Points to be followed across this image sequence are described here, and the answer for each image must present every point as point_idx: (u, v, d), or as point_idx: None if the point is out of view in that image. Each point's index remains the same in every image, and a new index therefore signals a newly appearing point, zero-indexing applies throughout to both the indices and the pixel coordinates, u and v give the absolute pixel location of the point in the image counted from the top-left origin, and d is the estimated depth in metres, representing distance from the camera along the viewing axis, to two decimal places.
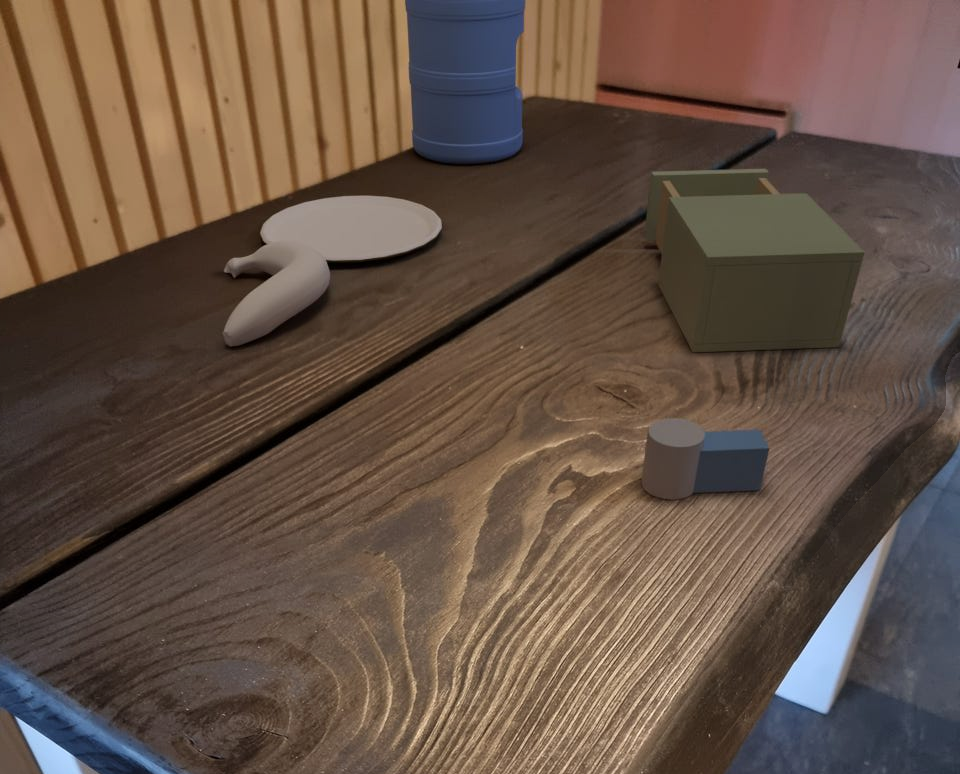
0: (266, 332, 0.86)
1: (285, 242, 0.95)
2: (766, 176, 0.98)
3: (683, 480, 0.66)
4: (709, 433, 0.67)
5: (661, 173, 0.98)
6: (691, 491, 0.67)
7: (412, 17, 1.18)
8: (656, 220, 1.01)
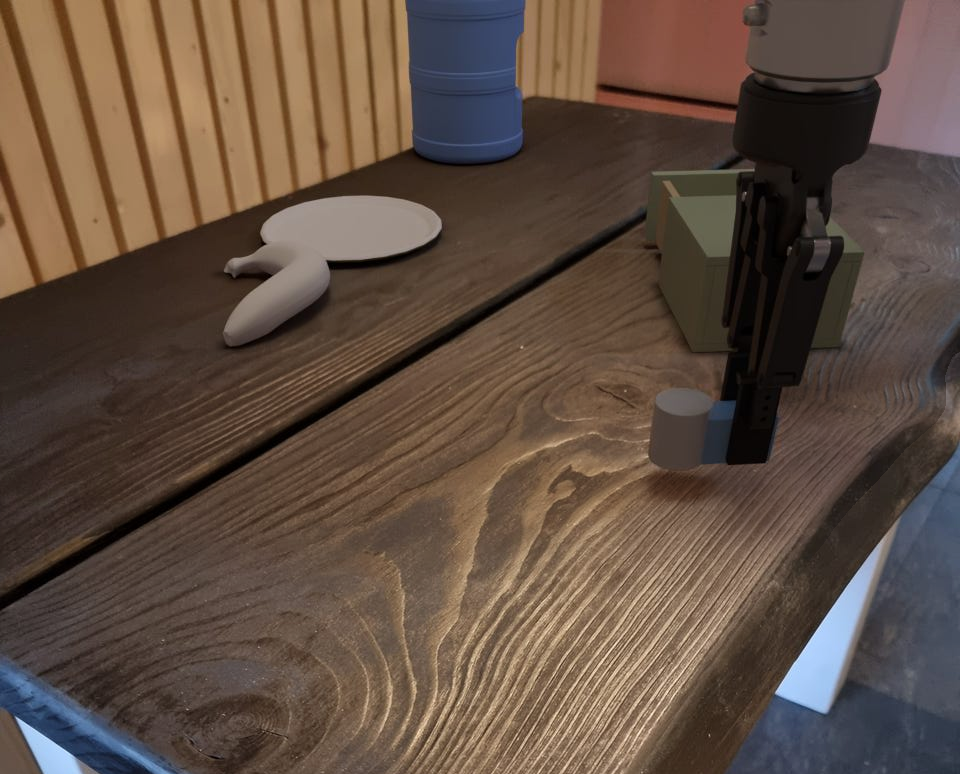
0: (266, 332, 0.86)
1: (285, 242, 0.95)
2: None
3: (691, 451, 0.64)
4: (717, 403, 0.65)
5: (661, 173, 0.98)
6: (699, 462, 0.65)
7: (412, 17, 1.18)
8: (656, 220, 1.01)
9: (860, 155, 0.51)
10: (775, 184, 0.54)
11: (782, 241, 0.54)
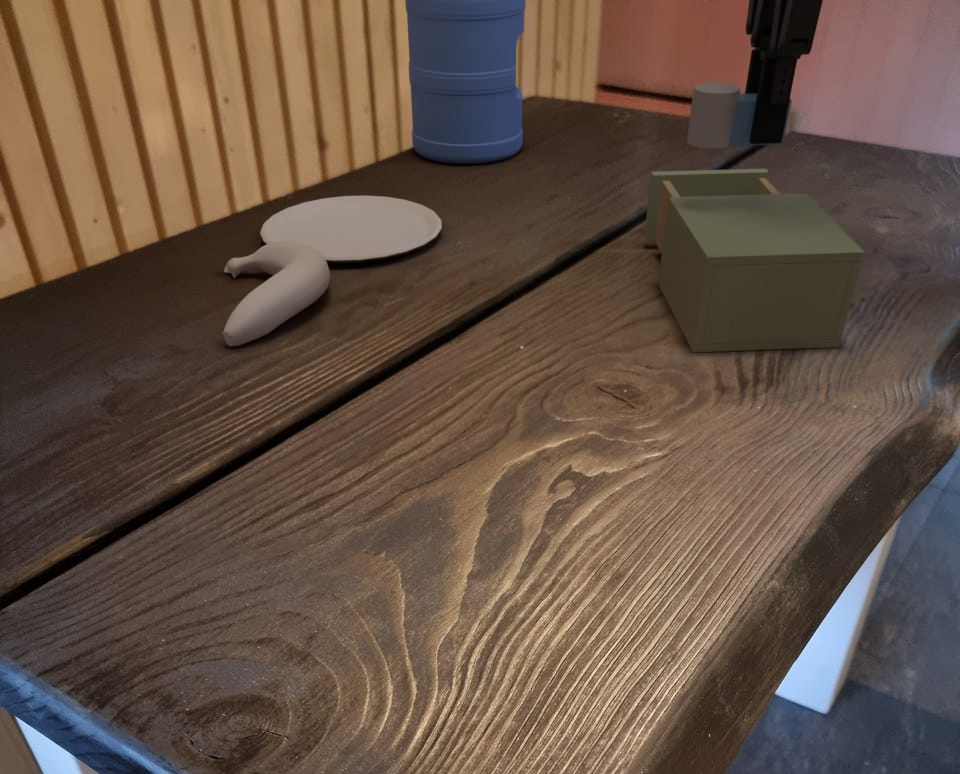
0: (266, 332, 0.86)
1: (285, 242, 0.95)
2: (766, 176, 0.98)
3: (722, 129, 0.81)
4: (742, 94, 0.82)
5: (661, 173, 0.98)
6: (728, 142, 0.83)
7: (412, 17, 1.18)
8: (656, 220, 1.01)
9: None
10: None
11: None
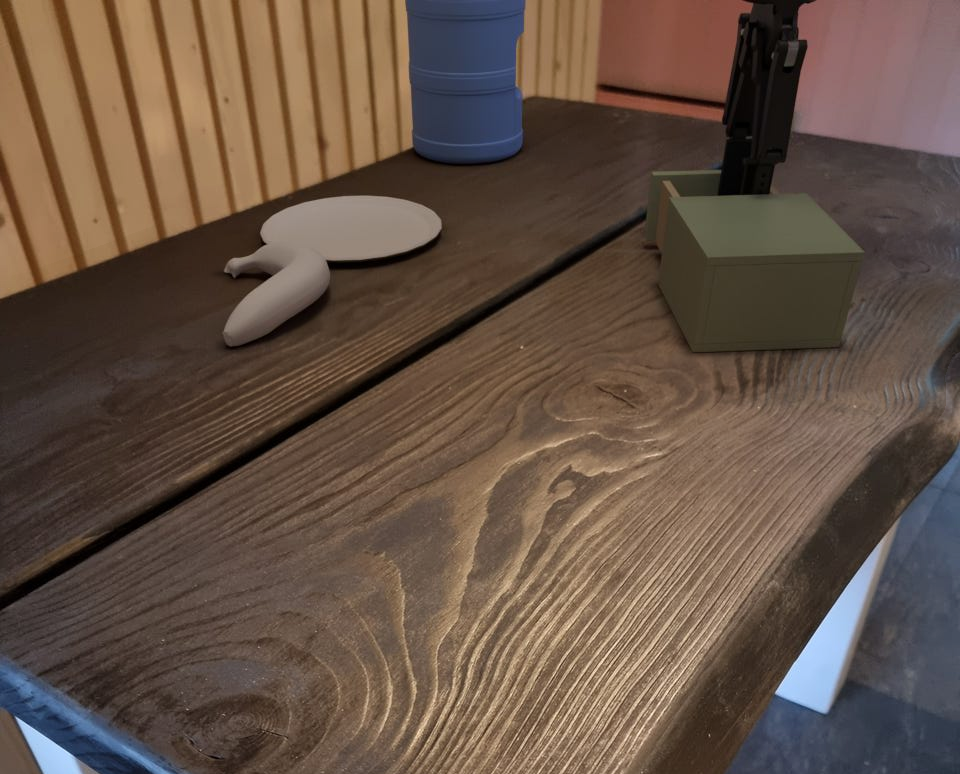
0: (266, 332, 0.86)
1: (285, 242, 0.95)
2: None
3: None
4: None
5: (661, 173, 0.98)
6: None
7: (412, 17, 1.18)
8: (656, 220, 1.01)
9: None
10: (762, 20, 0.84)
11: (766, 57, 0.84)
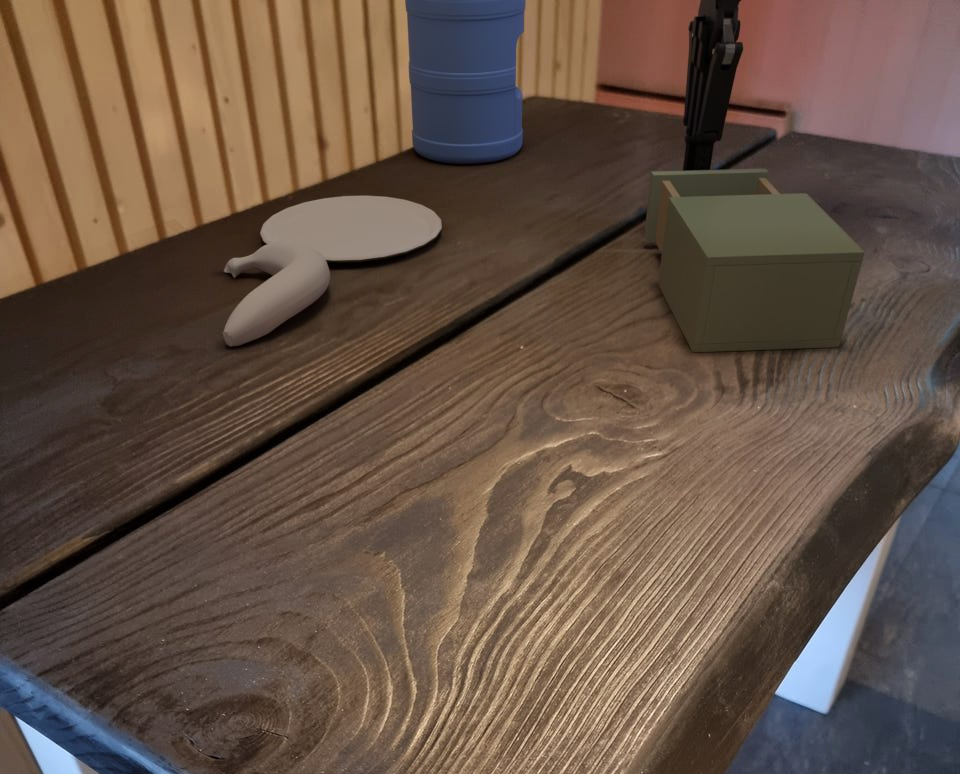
0: (266, 332, 0.86)
1: (285, 242, 0.95)
2: (766, 176, 0.98)
3: None
4: None
5: (661, 173, 0.98)
6: None
7: (412, 17, 1.18)
8: (656, 220, 1.01)
9: None
10: (708, 14, 0.93)
11: (711, 47, 0.93)
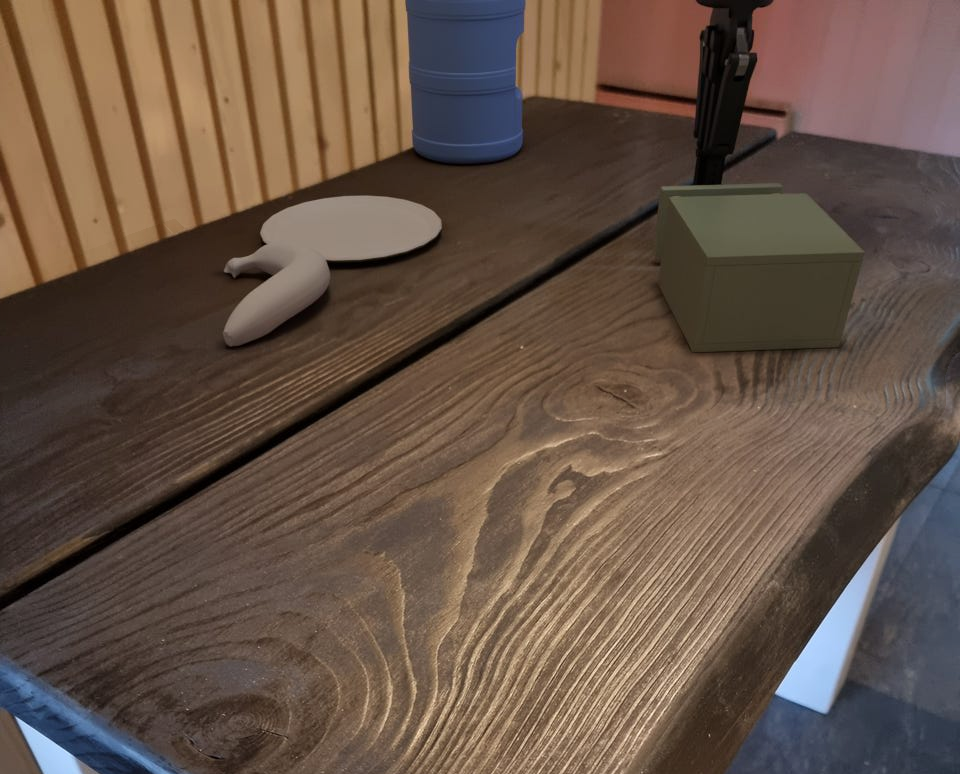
0: (266, 332, 0.86)
1: (285, 242, 0.95)
2: (780, 191, 0.95)
3: None
4: None
5: (671, 188, 0.94)
6: None
7: (412, 17, 1.18)
8: None
9: (769, 1, 0.86)
10: (720, 23, 0.89)
11: (724, 58, 0.89)
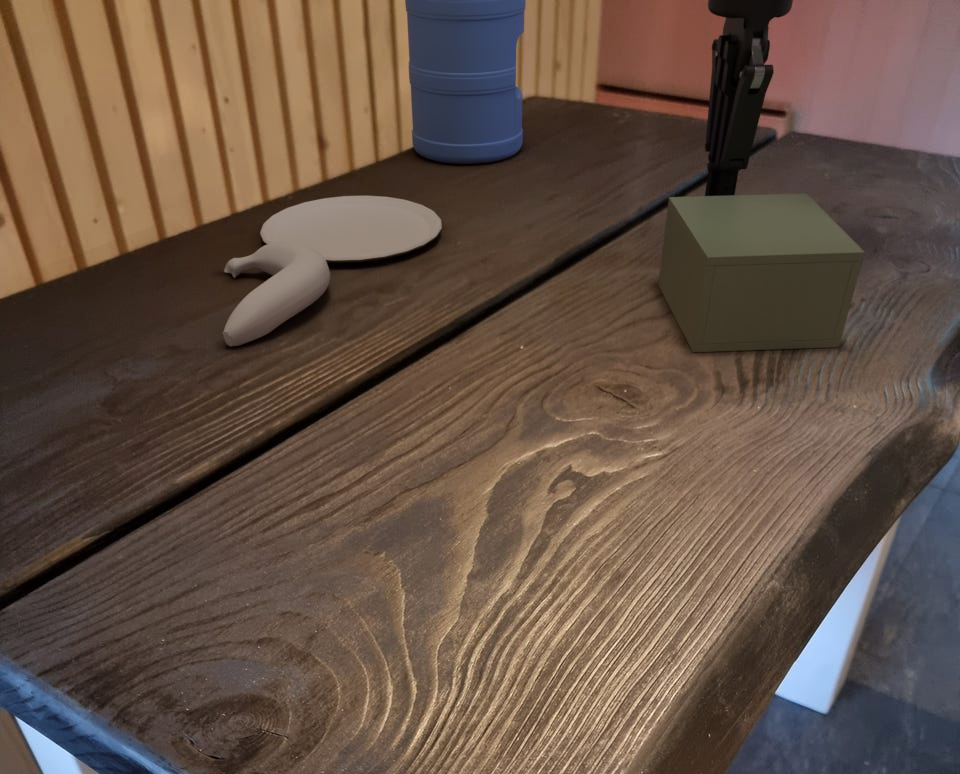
0: (266, 332, 0.86)
1: (285, 242, 0.95)
2: None
3: None
4: None
5: None
6: None
7: (412, 17, 1.18)
8: None
9: (785, 11, 0.83)
10: (734, 33, 0.86)
11: (738, 70, 0.86)
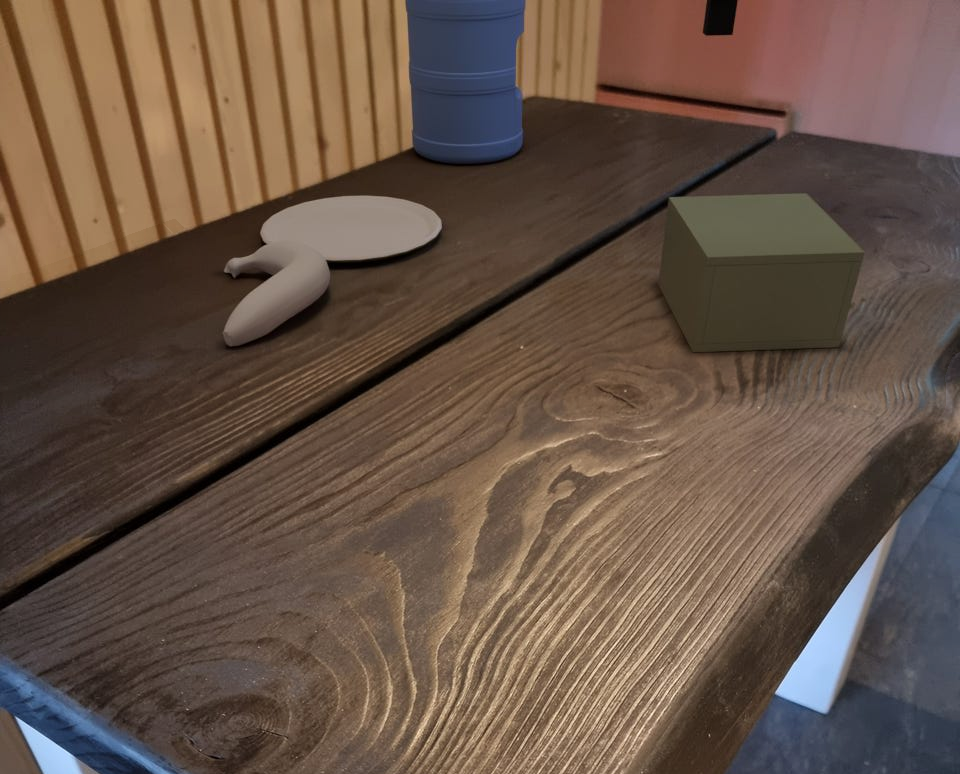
0: (266, 332, 0.86)
1: (285, 242, 0.95)
2: None
3: None
4: None
5: None
6: None
7: (412, 17, 1.18)
8: None
9: None
10: None
11: None
